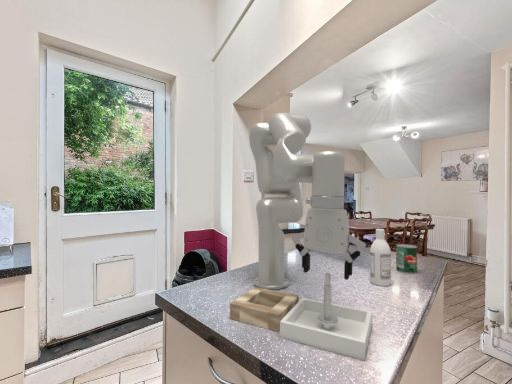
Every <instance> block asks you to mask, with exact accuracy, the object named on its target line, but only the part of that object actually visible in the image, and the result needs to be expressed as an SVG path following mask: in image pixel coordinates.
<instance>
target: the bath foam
mask: <svg viewBox="0 0 512 384" xmlns="http://www.w3.org/2000/svg"><path fill="white" fill-rule="evenodd" d="M385 236H386V235H385V229H384V228H376V229H375V239H374V240H373V242H372V244H371V246H370V249H369V281H370V283H371V284H372V285H375V286H378V287H389V286H390V285H391V284H392V266H391V265H392V257H391V256H392V251H391V247H390V245H389V244H388V242H387V240H386V238H385Z"/></svg>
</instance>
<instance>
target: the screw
mask: <svg viewBox="0 0 512 384" xmlns="http://www.w3.org/2000/svg"><path fill="white" fill-rule="evenodd" d="M323 283H324V284H323V302H324V313H322V314H320V315H318V316H317V319H318V321H319V322H321V323H322V327H323V328H324V329H327V330H331V329H333V328H334V324H336V323H338V318H337V317H336V316H335V315H333V314H331V313H332V311H331V310H332V309H331V308H332V306H331V305H332V304H333V302H332V298H333V297H332V288H333V287H332V283H331V274H330V273H329V272H326V273H325V274H324V282H323ZM331 303H332V304H331Z"/></svg>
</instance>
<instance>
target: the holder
mask: <svg viewBox="0 0 512 384" xmlns="http://www.w3.org/2000/svg"><path fill="white" fill-rule="evenodd" d="M299 296H300V295H299V294H294V293H287V292H282V291H278V290H274V289H264V288H260V287H257V286H255V287H253V288H251V289H250V290H248V291H247V292H245V293H243V294H242V295H241V296H239V297H238V298H236V299H234V300H233V301H231V302H230V303H229V319H230V320H232V321H237V322H241V323H244V324H249V325H251V326H255V327H259V328H263V329H267V330H271V331H274V332H277V333H280V321H281V320H282V319H283V318H284V317H285V316H286V315H287V313H288V312H289V311H290V310H291V309H292V308H293V307H294V306H295V305H296V304H297V303H298V302H299V301H300V297H299Z"/></svg>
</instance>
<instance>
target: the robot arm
mask: <svg viewBox="0 0 512 384" xmlns="http://www.w3.org/2000/svg"><path fill="white" fill-rule="evenodd" d="M311 130H312V123H311V121H310V119H309V118H308V116H307V115H304V114H301V113H291V112H276V113H274V114H272V115H271V116H270V117H269V119H268V122H265V121H264V122H257V123H253V124H252V125H251V127H250V130H249V133H248V134H249V137H248V141H249V147H250V150H251V153H252V156H253V158H254V161H255V171H256V180H257V181H256V182H257V189H258V191H259V192H260V194H262V195H266V196H267V195H269V196H267V197H262V198H261V199H259V200H258V201H257V202H256V206H255V213H256V218H257V227H258V229H257V230H258V277H256V278H254V285H255V287H258V288H263V289H268V290H280V289H284V288H287V287H288V286H289V283H290V281H289V279H287V278H286V277H285V275H286V274H285V273H287V268H286V267H285V265H286V264H285V263H286V261H285V258H286V257H285V253H286V252H285V251H286V249H285V248H286V247H285V245H286V244H285V243H286V242H285V241H286V239H285V233H284V231H283V229H282V228H281V227H280V226H279V224H283V223H284V224H287V223H288V224H291V223H298V222H300V221H301V220H302V218H303V216H304V206H303V199H302V198H303V197H302V191H301V185H300V184H301V183H302V184H303V183H305V184H307V183H308V184H311V195H310V197H309V198H307V197H306V199H305V203H306V204H309V205H310V208H307V211H306V217H305V225H304V231H302V232H301V233H297V234H295V235H293V236H292V238H291V239H292V242H293V243H294V247H295V248H296V250H297V251H298V252H299V254H300V256H301V268H303V273H308V272H309V271H310V270H311V254H310V251H312V252H320V253H326V254H327V253H329V254H335V255H336V254H337V255H342V257H344V259H345V261H344V267H343V270H344V271H343V272H344V274H343V277H344V278H343V279H344V280H347V281H348V280H349V278H350V276H353V262H354V261H355V260H356V259H357V258H359V257H360V256H361V254H362V253H363V251H364V249H365V248H366V246H367V245H366V243H365V242H364V241H362V240H360V239H358V238H356V237H355V236H353V235H351V234H350V224H349V223H350V222H349V215H348V211H347V209H345V163H346V162H345V161H346V159H345V156H344V153H342V152H340V151H333V150H330V151H329V150H328V151H327V150H326V151H318V152H316V153H315V154H308V153H307V154H306V153H305V154H304V153H299V152H300V151H301V150H302V149H303V148H305V145H306V142H307V138H308V137H309V135H310V133H311ZM269 146H270V147H271V146H272V147H274V150H273V151H272V149H270V147H269ZM271 196H272V197H271ZM275 196H276V197H275ZM277 196H278V197H277ZM281 196H284V197H281ZM302 238H303V244H302V243H301V241H300V240H302ZM351 243H352V244H353V245H354V246H356V247H357V248H356V250H355V251H353V252H351V251H350V250H349V248H350V244H351Z"/></svg>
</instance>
